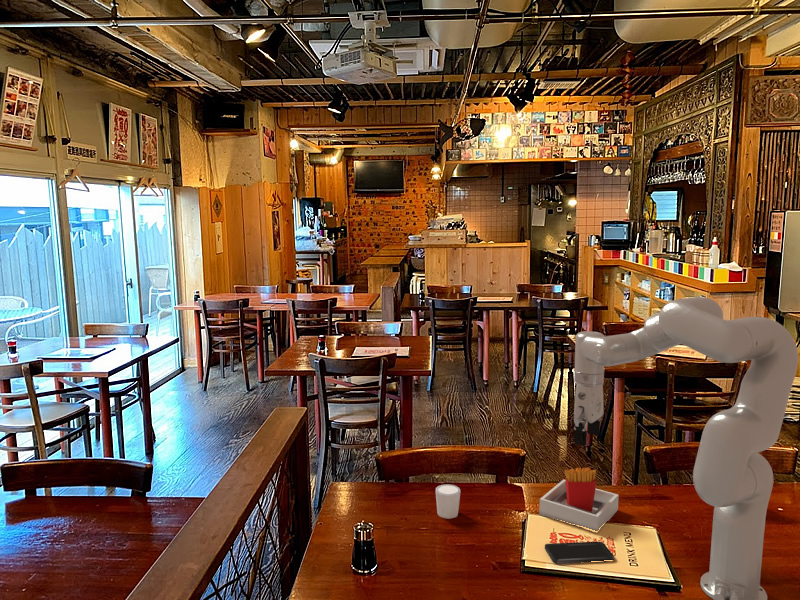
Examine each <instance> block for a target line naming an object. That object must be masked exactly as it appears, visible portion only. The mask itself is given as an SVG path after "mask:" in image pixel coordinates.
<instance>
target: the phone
mask: <svg viewBox="0 0 800 600" xmlns="http://www.w3.org/2000/svg"><path fill="white" fill-rule="evenodd" d="M544 550H545V552H546V554H547V555H548V557H549V559H550V560H551V562H552V563H553V564H554V565H570V564H572V565H573V563H575V564H582V563H581V562H591V561H604V560H614V561H615V556H614V554H613V553H612V551H611V550H610V549H609V547H608V546H607V545H606V544H605V542H603V541H578V542H574V541H573V542H558V543H557V542H554V543H553V542H552V543H551V542H549V543H545V544H544Z"/></svg>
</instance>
